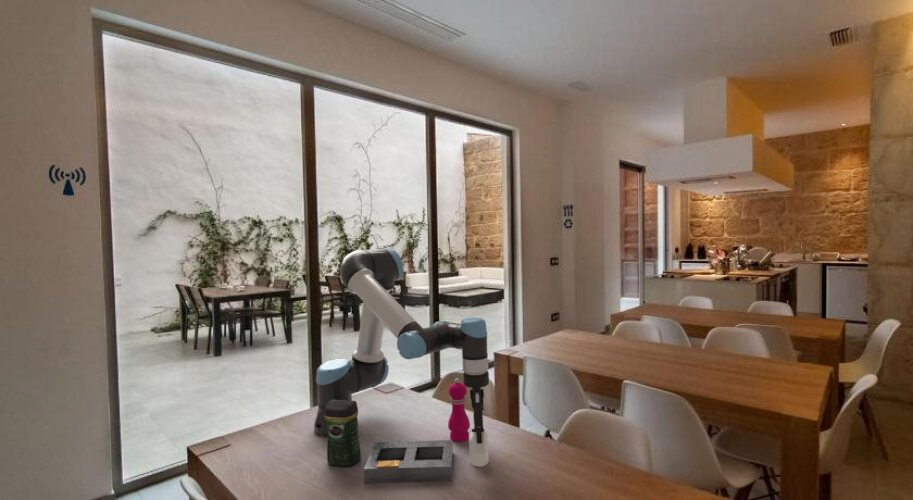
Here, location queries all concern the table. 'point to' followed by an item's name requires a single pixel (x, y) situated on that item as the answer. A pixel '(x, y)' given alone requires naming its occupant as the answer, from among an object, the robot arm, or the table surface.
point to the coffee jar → (342, 432)
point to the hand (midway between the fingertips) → (479, 442)
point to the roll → (478, 458)
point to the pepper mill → (458, 413)
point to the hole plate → (409, 462)
